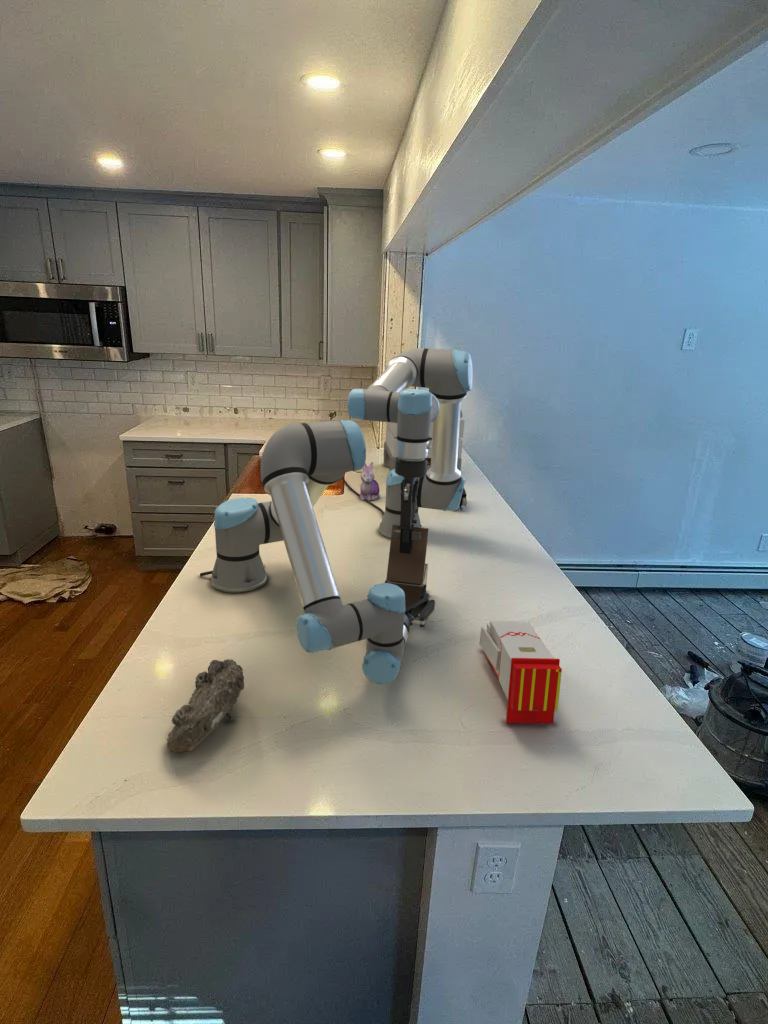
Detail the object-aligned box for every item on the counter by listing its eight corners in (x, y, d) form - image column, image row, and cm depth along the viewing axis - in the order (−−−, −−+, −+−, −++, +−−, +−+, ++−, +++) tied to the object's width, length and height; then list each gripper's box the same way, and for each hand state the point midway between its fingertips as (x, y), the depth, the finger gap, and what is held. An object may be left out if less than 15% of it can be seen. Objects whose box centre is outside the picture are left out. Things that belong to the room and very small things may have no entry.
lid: (393, 525, 147) (388, 522, 138) (428, 528, 145) (426, 526, 137) (386, 580, 146) (382, 580, 137) (422, 584, 144) (420, 585, 136)
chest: (393, 587, 161) (394, 560, 158) (426, 591, 160) (428, 563, 157) (385, 612, 148) (386, 582, 145) (420, 616, 147) (422, 586, 144)
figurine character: (467, 515, 225) (461, 499, 238) (469, 498, 221) (463, 482, 235) (450, 514, 224) (445, 498, 238) (452, 497, 221) (447, 482, 234)
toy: (526, 605, 135) (570, 665, 105) (521, 658, 137) (563, 730, 108) (475, 604, 134) (506, 664, 105) (472, 657, 137) (500, 729, 108)
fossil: (192, 660, 117) (244, 628, 112) (224, 691, 120) (276, 661, 115) (142, 746, 98) (202, 712, 93) (182, 779, 101) (242, 748, 96)
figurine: (364, 502, 230) (365, 466, 225) (353, 495, 238) (354, 460, 233) (384, 500, 234) (386, 464, 229) (373, 492, 242) (375, 458, 237)
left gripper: (343, 639, 130) (364, 594, 151) (439, 652, 127) (446, 604, 148) (344, 611, 128) (364, 569, 149) (441, 623, 124) (448, 579, 145)
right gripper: (424, 467, 124) (417, 564, 132) (430, 451, 138) (424, 541, 146) (390, 464, 125) (385, 561, 133) (400, 449, 139) (395, 537, 147)
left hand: (405, 587), depth 148 cm, fingers closed on chest, 9 cm apart
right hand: (405, 550), depth 140 cm, fingers closed on lid, 2 cm apart
